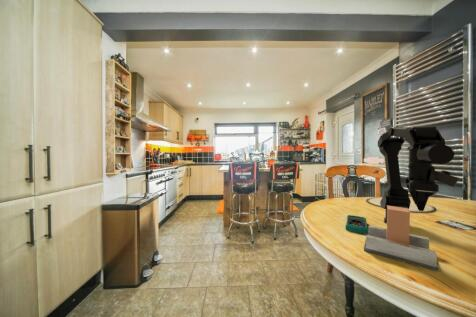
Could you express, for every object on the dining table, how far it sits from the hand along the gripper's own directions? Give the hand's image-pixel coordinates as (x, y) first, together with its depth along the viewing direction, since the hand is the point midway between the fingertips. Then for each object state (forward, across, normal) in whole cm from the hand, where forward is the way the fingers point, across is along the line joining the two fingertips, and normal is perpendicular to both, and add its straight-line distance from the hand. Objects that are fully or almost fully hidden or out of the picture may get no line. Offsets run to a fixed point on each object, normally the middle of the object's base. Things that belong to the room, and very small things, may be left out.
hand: (418, 207), depth 62 cm
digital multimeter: (+13, +3, +18) cm, 22 cm away
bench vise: (+12, -9, +6) cm, 16 cm away
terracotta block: (+11, -13, +6) cm, 18 cm away
